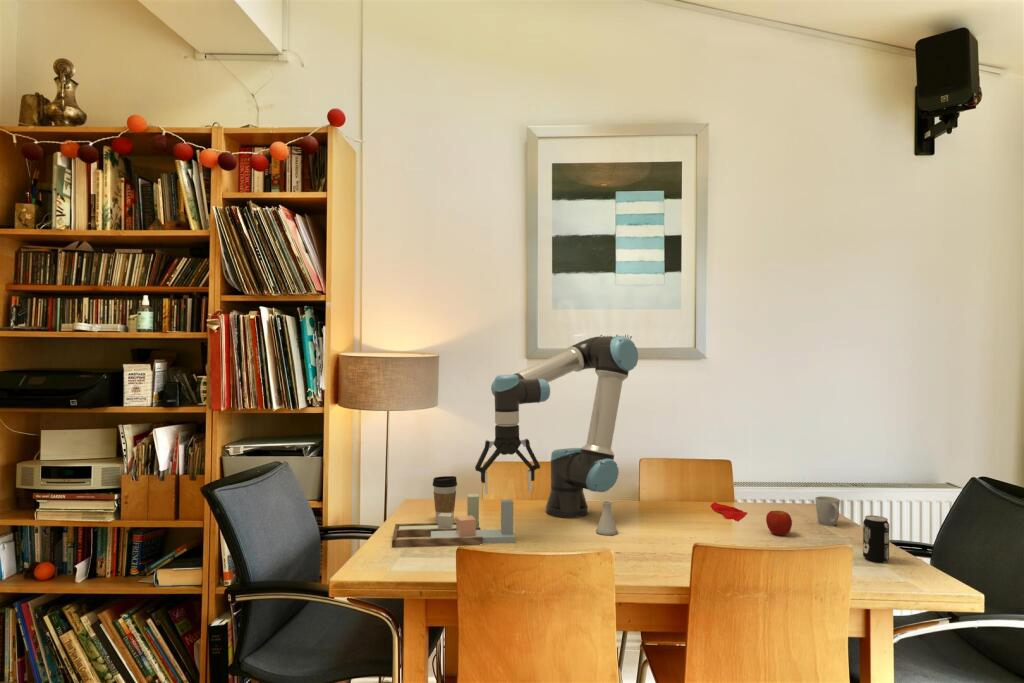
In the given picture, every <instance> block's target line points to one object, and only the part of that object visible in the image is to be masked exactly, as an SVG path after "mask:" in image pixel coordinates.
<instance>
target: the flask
mask: <svg viewBox="0 0 1024 683" xmlns="http://www.w3.org/2000/svg"><path fill="white" fill-rule="evenodd" d="M601 503H602V512H601V514H600V518H599V521H598V524H597V526H596V529H595V532H596V534H599V535H604V536H614V535H616V534H619V532H618V529H617V526H616V523H615V519H614V517H613V512H612V504H613V502H612V501H611V500H602V502H601Z"/></svg>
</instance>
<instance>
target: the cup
mask: <svg viewBox="0 0 1024 683" xmlns="http://www.w3.org/2000/svg"><path fill="white" fill-rule="evenodd" d="M840 503H841V502H840V499H839V498H837V497H834V496H833V497H832V496H824V495H823V496H821V495H820V496H816V497H815V507H816V508H815V509H816V515H817V516H816V517H817V522H818V524H820V525H822V526H827V527H828V526H830V527H832V526H833V527H834V526H836V525H837V523H838V520H839V517H840V510H839V509H840Z"/></svg>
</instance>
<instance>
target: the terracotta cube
mask: <svg viewBox="0 0 1024 683" xmlns="http://www.w3.org/2000/svg"><path fill="white" fill-rule="evenodd" d="M455 519H456V521H455V522H456V533H457V534H458V535H459V537H466V536H476V519H475V518H474V517H473V516H472V515H470V516H467V515H459V516H458V515H457V516H456V517H455Z"/></svg>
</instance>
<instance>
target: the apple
mask: <svg viewBox="0 0 1024 683" xmlns="http://www.w3.org/2000/svg"><path fill="white" fill-rule="evenodd" d="M765 521H766V526H767V529H768V530H769V532H771V533H772V535H775V536H785V535H788V534H789V533H790V531H791V530H792V526H793V520H792V517H791V515H790V514H789V513H788V512H786V511H783V510H770V511H769V512H767V513H766V517H765Z"/></svg>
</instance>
